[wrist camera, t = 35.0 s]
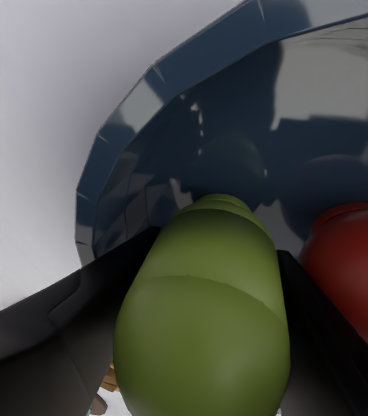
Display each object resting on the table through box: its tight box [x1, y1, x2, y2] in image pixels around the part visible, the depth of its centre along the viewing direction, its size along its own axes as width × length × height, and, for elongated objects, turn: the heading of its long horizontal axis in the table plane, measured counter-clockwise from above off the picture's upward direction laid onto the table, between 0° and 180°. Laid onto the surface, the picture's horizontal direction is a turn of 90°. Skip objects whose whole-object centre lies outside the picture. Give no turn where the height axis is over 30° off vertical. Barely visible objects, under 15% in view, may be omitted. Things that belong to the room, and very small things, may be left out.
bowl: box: [75, 0, 368, 414], centre depth 9 cm, size 15×15×5 cm
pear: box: [113, 194, 291, 416], centre depth 7 cm, size 4×4×8 cm
